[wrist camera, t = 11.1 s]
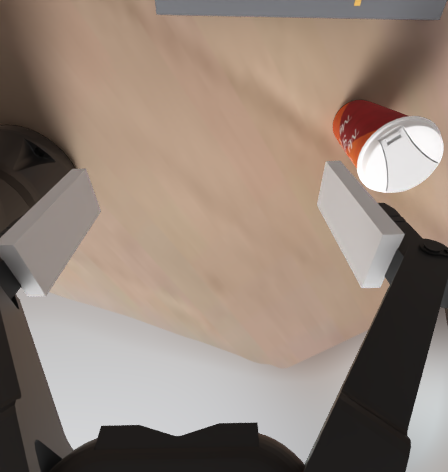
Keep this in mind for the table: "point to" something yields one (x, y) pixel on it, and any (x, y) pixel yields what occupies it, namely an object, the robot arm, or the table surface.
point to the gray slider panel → (307, 8)
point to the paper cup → (388, 145)
